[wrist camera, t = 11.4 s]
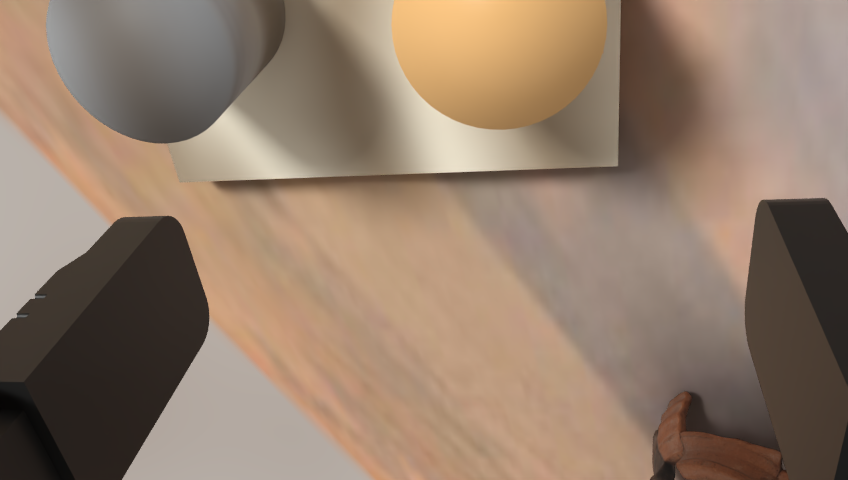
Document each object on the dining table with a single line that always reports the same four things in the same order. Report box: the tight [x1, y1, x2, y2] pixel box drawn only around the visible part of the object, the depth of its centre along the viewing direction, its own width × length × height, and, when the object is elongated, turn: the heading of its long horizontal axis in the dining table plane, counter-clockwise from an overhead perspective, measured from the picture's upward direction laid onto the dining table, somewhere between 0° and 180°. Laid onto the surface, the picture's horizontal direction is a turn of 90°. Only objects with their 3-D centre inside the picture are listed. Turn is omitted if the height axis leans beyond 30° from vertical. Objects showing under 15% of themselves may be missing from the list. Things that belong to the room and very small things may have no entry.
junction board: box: [46, 0, 621, 182], centre depth 24 cm, size 17×14×7 cm
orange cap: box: [391, 0, 607, 130], centre depth 22 cm, size 6×6×5 cm
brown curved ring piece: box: [650, 391, 789, 480], centre depth 32 cm, size 12×10×8 cm
